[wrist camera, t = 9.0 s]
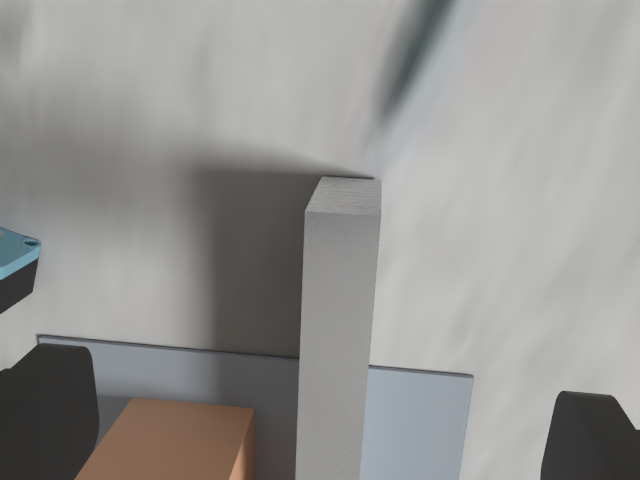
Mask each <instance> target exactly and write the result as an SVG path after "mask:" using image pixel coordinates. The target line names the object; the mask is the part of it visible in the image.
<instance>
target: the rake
mask: <svg viewBox="0 0 640 480" xmlns="http://www.w3.org/2000/svg"><path fill="white" fill-rule="evenodd" d="M380 221H381V180H371V179H356V178H341V177H325V176H322V177H321V179H320V181H319V183H318V185H317V187H316V189H315V191H314V193H313V195H312V197H311V199H310V202H309V204H308V206H307V208H306V210H305V222H304V250H303V278H302V306H301V334H300V362H299V390H298V418H297V446H296V474H295V480H359V479H360V467H361V454H362V442H363V430H364V418H365V405H366V393H367V381H368V369H369V356H370V344H371V332H372V319H373V307H374V295H375V283H376V270H377V258H378V246H379V234H380Z"/></svg>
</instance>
